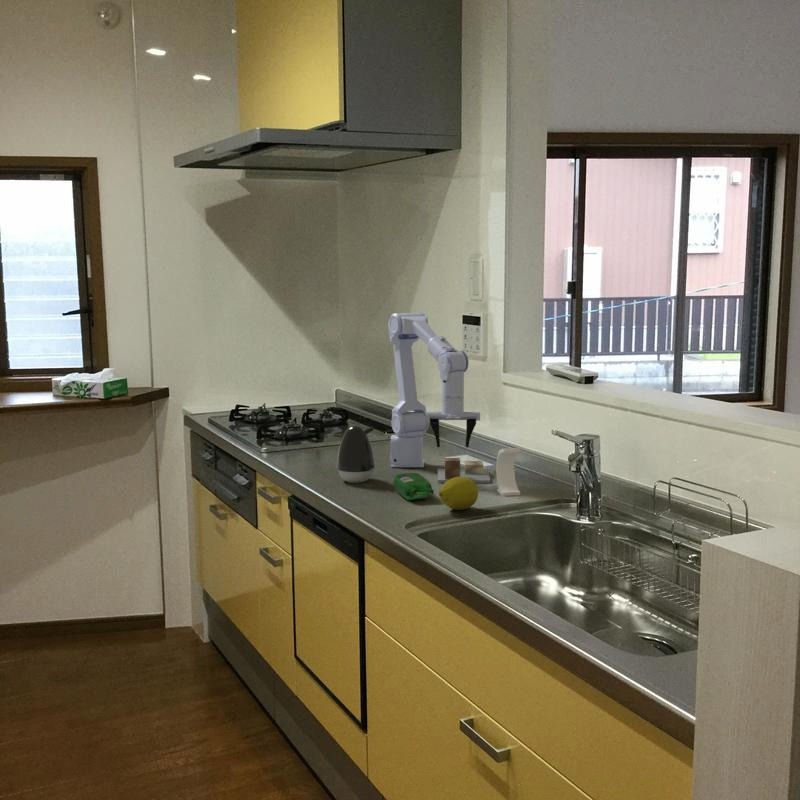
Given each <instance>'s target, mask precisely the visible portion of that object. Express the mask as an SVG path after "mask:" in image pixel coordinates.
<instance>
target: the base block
mask: <svg viewBox="0 0 800 800" xmlns="http://www.w3.org/2000/svg"><path fill="white" fill-rule="evenodd" d="M464 469H465V474H483V469H484V461H483V460H464Z"/></svg>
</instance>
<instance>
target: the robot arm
mask: <svg viewBox="0 0 800 800" xmlns="http://www.w3.org/2000/svg"><path fill="white" fill-rule="evenodd" d="M387 325H388V327H387V328H388V335H389V342H390V343H391V344H392V345H393V346H392V347H393V354H394V355H393V356H394V363H395V364H394V365H395V372H396V381H397V389H398V398H399V402H398V403H397V404H396V405H395V406H394V407H393V408H392V409H391V421H390V423H391V428H392V430H393V432H394V433H395V434H392V435H391V436H390V453H389V454H390V455H389V461H390V467H391V468H424V467H425V460H424V459H423V458H424V457H423V456H424V454H423V453H424V452H423V449H424V448H423V446H424V444H423V443H424V442H423V440H424V436H425V434H426V432H427V431H428V429H429V427H431V429H432V433H433V434H434V437H435V441H436V447H437V448H440V447H441V446H440V445H441V442H440V440H441V439H440V421H466V435H465V448H470V446H469V445H470V441H471V437H472V434H473V432H474V430H475V427H476V425H477V421H479V422H480V421H481V412H477V411H476V412H475V411H474V412H473V411H464V409H465V408H464V405H465V403H464V402H465V399H464V398H465V373H466V372H467V371H468V368H469V357H468V355H467V353H466V352H465V351H464V350H458V349H456V348H455V347H454V346H452V344H451V343H450V342H449V341H448V340H447V338H446V337H445V336H443V335H442V336H441V335H437V334H436V333H435V331H434V330H433V329H432V328H431V326H430V325H429V317H427V316H426V314H425V313H424V312H423V311H420V312H410V313H409V312H403V313H397V312H394V313H392V314H391V316H390V318H389V320H388V323H387ZM419 340H421V341H422V342H424V343H425V344H426V345H427V352H428V353H429V354H430V355H431V356H432V357H433V358H434V359H435V361H436V362H437V367H438V371H439V373H440V375H439V376H440V380H441V381H442V384H441V385H442V388H441V389H442V391H441V392H442V394H441V395H442V397H441V399H442V400H441V401H442V402H441V404H442V405H441V409H442V411H429V412H428V411H427V408H426V405H424V404H423V403H422V402H420V401H419V400H418V394H417V393H418V392H417V386H416V385H417V384H416V375H415V367H414V359H413V350H412V346H413V345H414V344H415V343H416V342H418V341H419Z"/></svg>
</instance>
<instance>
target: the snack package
mask: <svg viewBox="0 0 800 800" xmlns="http://www.w3.org/2000/svg"><path fill="white" fill-rule="evenodd" d="M392 483H393V486H394V490H395V492H397V493H398V494H399V495H400V496H402V497H403V498H404V499H406V500H408V501H413V500H422V499H427V498H428V497H429V496H430V495H431V494H434V491H435V490H434V489H433V488H432V483H430V481H429V480H428V479H427V478H425V477H424V476H423V475H421V474H419V473H417V472H406V473H405V472H403V473H397V474H396V475H395V476H394V477H393V482H392Z"/></svg>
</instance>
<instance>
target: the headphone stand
mask: <svg viewBox="0 0 800 800" xmlns="http://www.w3.org/2000/svg"><path fill="white" fill-rule="evenodd" d="M521 451H522V449H521V447H520V448H519V447H518V448H500V449H499V451H498V453H497V457H496V464H495V465H496V466H495V471H496V472H495V474H496V483H497V487H498V488H496V492H497V493H499V495H501V496H503V497H509V496H510V497H511V496H521V491H520V490H519V487H518V486H517V485H518V484H517V482H516V478H515V462H516V461H515V460H516V456H517V454H518V453H519V452H520V453H521Z"/></svg>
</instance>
